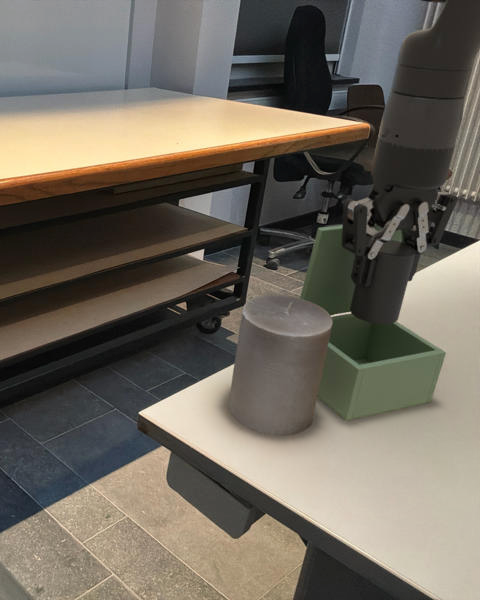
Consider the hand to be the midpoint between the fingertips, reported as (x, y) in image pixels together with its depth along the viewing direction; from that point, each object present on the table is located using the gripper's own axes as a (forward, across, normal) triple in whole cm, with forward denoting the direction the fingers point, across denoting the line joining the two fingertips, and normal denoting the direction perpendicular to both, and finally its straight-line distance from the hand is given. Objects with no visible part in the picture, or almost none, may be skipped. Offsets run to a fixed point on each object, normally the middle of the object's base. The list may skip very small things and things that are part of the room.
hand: (381, 281), depth 79 cm
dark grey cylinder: (+4, 0, 0) cm, 4 cm away
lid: (+1, 0, +5) cm, 5 cm away
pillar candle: (+15, -14, -1) cm, 21 cm away
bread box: (+15, 0, 0) cm, 15 cm away
